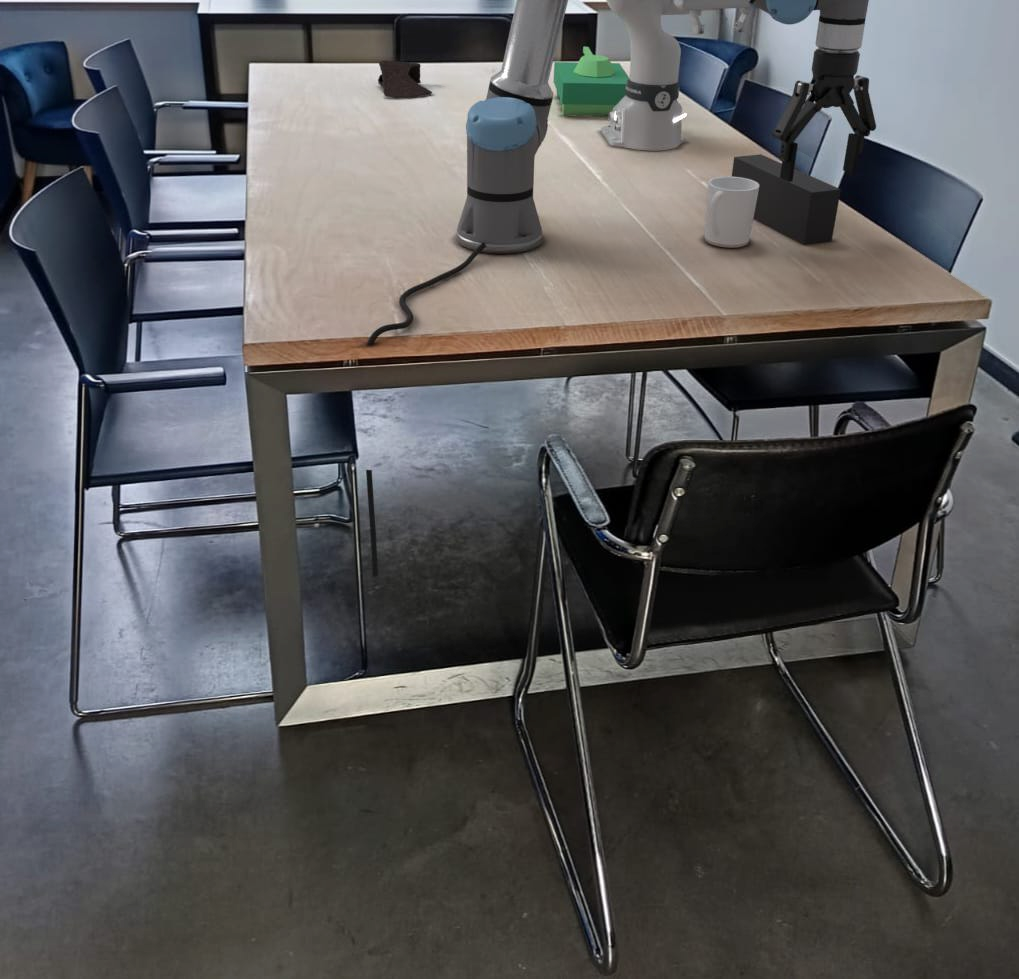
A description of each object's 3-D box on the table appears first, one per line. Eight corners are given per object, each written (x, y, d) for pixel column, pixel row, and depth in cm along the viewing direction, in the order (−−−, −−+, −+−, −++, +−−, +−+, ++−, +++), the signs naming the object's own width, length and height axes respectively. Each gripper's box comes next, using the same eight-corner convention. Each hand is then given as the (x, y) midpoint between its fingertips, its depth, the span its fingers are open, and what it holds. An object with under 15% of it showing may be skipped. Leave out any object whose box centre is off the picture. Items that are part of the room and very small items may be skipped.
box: (831, 241, 199) (841, 189, 194) (803, 244, 197) (812, 192, 192) (754, 202, 219) (761, 154, 214) (727, 205, 217) (733, 156, 212)
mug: (717, 229, 203) (724, 173, 198) (760, 239, 198) (768, 183, 193) (686, 243, 196) (692, 186, 190) (730, 255, 191) (737, 196, 186)
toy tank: (616, 43, 300) (635, 68, 271) (613, 90, 307) (630, 119, 277) (552, 42, 300) (564, 66, 270) (550, 88, 306) (561, 118, 276)
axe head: (443, 87, 294) (392, 77, 287) (436, 115, 299) (385, 106, 292) (421, 62, 307) (371, 52, 300) (414, 89, 311) (365, 80, 304)
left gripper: (882, 41, 191) (861, 163, 202) (762, 50, 183) (746, 177, 194) (911, 48, 185) (888, 174, 196) (788, 57, 177) (771, 188, 188)
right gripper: (763, -47, 217) (753, 28, 224) (673, -45, 210) (666, 32, 217) (781, -44, 212) (771, 33, 219) (690, -41, 205) (682, 37, 212)
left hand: (817, 175), depth 195 cm, fingers open, 13 cm apart
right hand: (718, 32), depth 218 cm, fingers open, 8 cm apart
